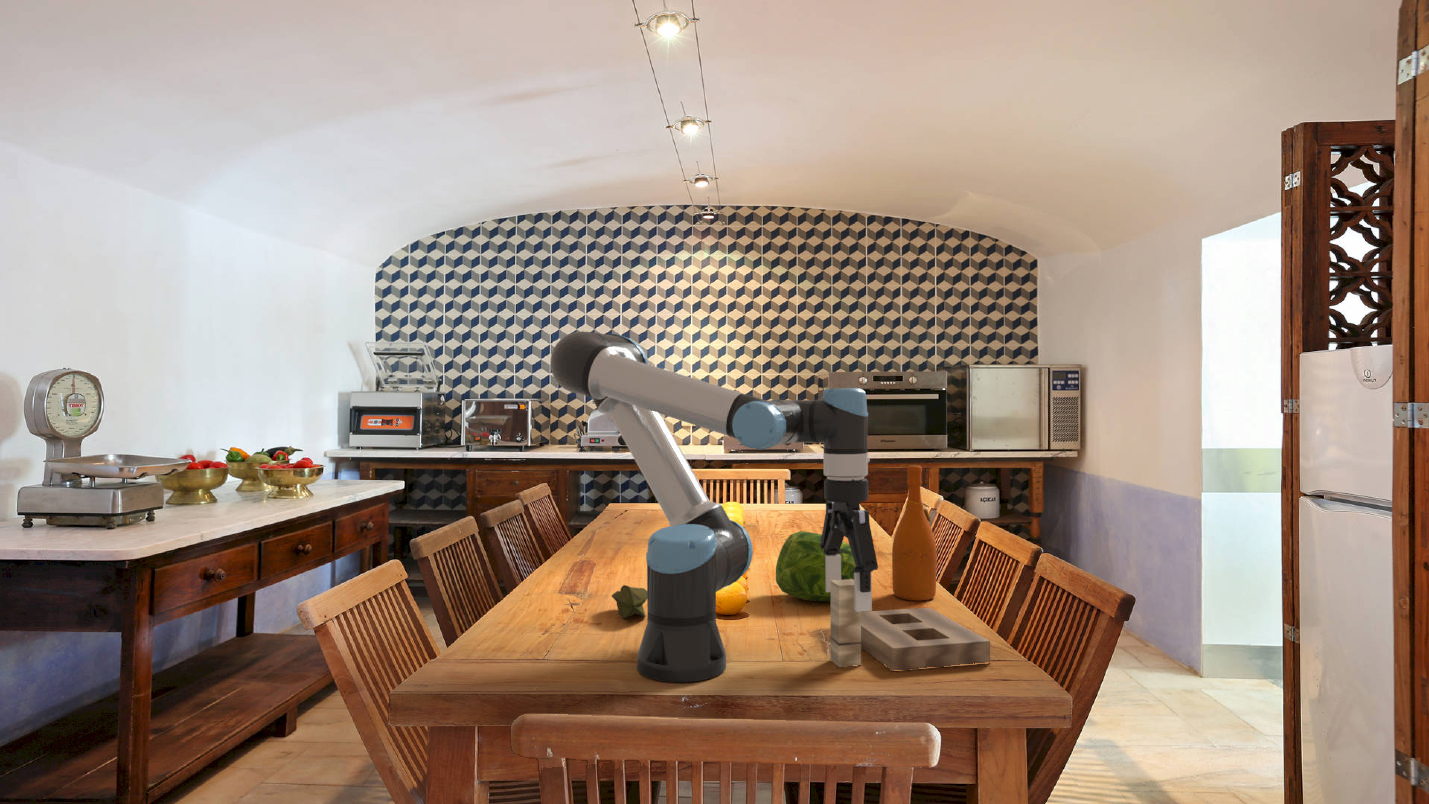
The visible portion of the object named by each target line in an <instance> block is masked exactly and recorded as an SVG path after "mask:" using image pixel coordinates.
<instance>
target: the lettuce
mask: <svg viewBox="0 0 1429 804" xmlns="http://www.w3.org/2000/svg"><path fill="white" fill-rule="evenodd" d="M821 537H822V533H816V532H810V531H803V530H800V531H797V532H794V533H792V534H790V535H789V536H788V538H786V540H785V541H784V543H783V545H782V547H781V549H780V551H779V554H778V556H777V557H778V558H777V561H776V565H775V582H776V584H777V585H778V587H779V588H780V591H781V592H782V593H785V594H787V595H789V596H790V597H793V598H795V599H799V600H803V601H809V602H828V603H829V602H830V603H831V592H826V571H825V556H826V554H824V549H821V548H820V543H821ZM840 549H841V551H842V554H836V555H841V580H847V579H853V580H854V572H853V569H854V568H855V567H856V565H855V562H854V559H853V555H852V552H851V548H850V545H849V542H845V541H842V544H841V547H840Z"/></svg>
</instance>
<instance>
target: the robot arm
mask: <svg viewBox="0 0 1429 804" xmlns="http://www.w3.org/2000/svg"><path fill="white" fill-rule="evenodd" d="M550 369H551V373H552V376H553V378H554V380H555V381H556V382H557V384H558V385H559V386H560V387H561V388H562V389H564V390H566V391H568V392H569V393H573V394H577V395H582V396H584V397H585V396H586V397H590V398H591V400H592V402H593V404H594V405H595V406H596V408H597V410H598V412H599V413H600V414H605V415H609V416H610V417H611V419H612V421H613V423H614V425H615V427H616V428H617V430H618V432H619V434H620V435H621V437H622V439H623V441H624V443H625V445H626V447H627V449H628V450H629V452H630V453H631V456H632V457H633V459H634V461H635V464H637V467H638V468H639V470H640V472H641V474H642V475H643V478H644V479H645V481H646V483H647V484H648V486H649V488H650V490H651V491H652V494H653V495H654V497H655V499H656V501H657V502H658V504H659V506H660V508H661V510H662V511H663V513H664V515H665V517H666V519H667V521H668V523H669V526H666V527H662V528H660V529H658V530H655V532H653V533H652V534H651V535H650V537H649V538H648V541H647V549H646V550H647V551H646V554H645V555H646V556H645V559H646V561H645V562H646V580H647V581H646V585H647V586H646V587H647V588H646V591H647V600H646V602H647V603H646V605H647V607H646V608H647V620H646V621H647V624H646V625H645V629H644V633H643V635H642V639H641V643H640V645H639V649H638V652H637V657H636V658H637V659H636V666H637V667H636V669H637V671H638V673H639V672H640V673H639V674H640V675H642V676H643V677H645V678H648V679H651V680H655V681H660V682H668V683H691V682H692V683H693V682H700V681H705V680H709V679H713V678H715V677H717V676H720V675H721V674H723V673H724V672H725V671H726V669H727V652H726V649H725V647H724V643H723V640H722V636H721V634H720V631H719V628H718V624H717V612H716V611H717V609H716V608H717V607H716V606H717V597H716V596H717V595H716V593H717V592H719V591H720V590H722V589H724V588H726V587H729V586H731V585H733V584H734V583H736V582H738V580H740V578H742V576H744V574H745V573H747V571H748V569H749V567H750V566H751V562H752V560H753V555H754V554H753V553H754V548H753V543H752V539H751V537H750V535H749V533H748V531H747V530H746V528H745V527H744V526H742V525H741V524H740V523H738V522H736V521H734V520H732V519H730V518H729V516H728V514H727V512H726V511H725V509H724V507H723V505H722V504H721V503H717V502H715V501H711V500H710V499H709V497H708V495H707V494H706V492H705V490H704V489H703V487H702V485H701V483H700V482H699V479H698V478H697V476H696V474H695V472H694V470H693V469H692V467H691V466H690V464H689V462H688V460H687V459H686V456H685V454H684V453H683V451H682V450H681V449H682V448H681V447H680V446H679V444H678V442H677V440H676V439H675V436H674V435H673V434H672V432H671V430H670V428H669V426H668V425H667V423H666V422H665V420H664V418H663V416H666V417H669V418H672V419H675V420H678V421H680V422H681V421H682V422H685V423H688V424H691V425H693V426H697V427H699V428H702V429H706V430H709V431H712V432H715V433H718V434H721V435H725V436H727V437H730V438H733V439H735V440H738V441H737V442H739V443H741V444H742V446H744V447H747V448H750V449H755V450H756V449H757V450H766V449H770V448H772V447H775V446H780V445H781V446H782V445H787V444H794V443H798V444H800V443H801V444H802V443H804V444H806V443H811V444H813V443H815V444H820V443H823V459H822V460H823V476H826V478H825V480H824V482H823V485H824V486H823V488H824V489H823V492H824V494H823V495H824V499H825V500H826V501H825V514H824V521H823V526H822V533H821V534H822V537H821V543H820V548H821V549H824V554H826V556H825V571H826V592H831V580H841V555H836V554H842V551H841V549H840V547H841V544H842V541H843V540H844V539H845V538H847V541H848V544H849V545H850V548H851V552H852V555H853V559H854V562H855V565H856V567H855V568H854V569H853V572H854V600H855V611H856V612H868V611H873V606H872V605H873V604H872V603H873V599H872V597H873V595H872V592H873V591H872V584H873V583H872V573H873V571H878V569H879V566H878V560H877V555H876V549H875V544H874V540H873V539H874V538H873V536H872V529H871V523H870V512H869V510H868V509H865V510H864V509H863V510H861V506H860V503H862V502H866V501H868V499H869V480H868V479H867V478H865V477H866V476H868V475H869V465H868V464H869V463H870V462H871V459H870V457H869V456H868V455H869V454H868V453H869V452H868V450H869V449H868V427H869V426H868V425H869V423H868V421H869V420H868V419H869V412H868V404H867V394H866V391H865V390H864V389H862V388H860V387H850V388H848V387H847V388H846V387H843V388H839V387H838V388H824V390H823V391H822V397H821V399H813V400H812V399H811V400H810V399H803V400H802V399H771V400H766V399H762V398H759V397H757V396H756V397H755V396H753V395H749V394H745V393H743V392H738V391H736V390H732V389H729V388H726V387H723V386H719V385H716V384H713V383H710V382H707V381H704V380H700V379H697V378H694V377H691V376H687V375H684V374H682V373H681V374H680V373H677V372H674V371H671V370H667V369H663V368H662V367H657V366H654V365H651V364H649V361H648V357H647V354H646V353H645V351H644V350H643V348H642V347H641V345H640V344H639V343H638V342H636V341H635V340H633V339H631V338H629V337H626V336H624V335H621V334H616V333H607V334H606V333H599V332H592V331H591V332H590V331H584V330H582V331H575V332H571V333H569V334H567V335H565V336H564V337H562V338H560V340H559V341H558V342H557V343H556V344H555V346H554V347H553V350H552V353H551V355H550ZM662 415H663V416H662ZM843 542H844V541H843ZM724 670H725V671H724ZM723 671H724V672H723ZM722 672H723V673H722ZM719 674H720V675H719Z"/></svg>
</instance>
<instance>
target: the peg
mask: <svg viewBox="0 0 1429 804" xmlns="http://www.w3.org/2000/svg"><path fill="white" fill-rule="evenodd" d="M829 639H830V661H831V662H832V661H833V662H834V663H835V664H836V665H837V666H838V667H844V668H846V667H845V666H853V665H861V666H862V647H861V612H856V611H855V600H854V580H853V579H847V580H831V601H830V637H829ZM833 662H832V663H833ZM834 663H833V664H834ZM835 664H834V665H835ZM836 665H835V666H836ZM837 666H836V667H837ZM838 667H837V668H838Z"/></svg>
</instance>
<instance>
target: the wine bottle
mask: <svg viewBox="0 0 1429 804" xmlns="http://www.w3.org/2000/svg"><path fill="white" fill-rule="evenodd" d="M906 472H907V481H906V485H907V486H908V492H907V493H908V494H907V500H906V504H905V509H904V512H903V515H902V517H901V519H900V521H899V524H898V526H897V528H896V531H895V534H894V538H893V541H892V549H891V553H892V554H891V568H892V570H891V571H892V592H893V595H894V596H896V597H897V598H899V599H902V600H906V601H913V602H915V601H920V602H922V601H928V600H931V599H933V598H934V597H935V596H936V593H937V592H936V591H937V574H938V573H937V571H938V569H937V566H938V565H937V564H938V563H937V559H938V558H937V557H938V556H937V543H936V539H935V536H934V533H933V529H932V526H931V525H930V522H931V518H930V514H929V510H928V509H925V508H924V504H923V502H922V494H921V486H922V484H923V481H922V473H923V468H922V466H921V465H918V464H910V465H908V466H907V468H906Z"/></svg>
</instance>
